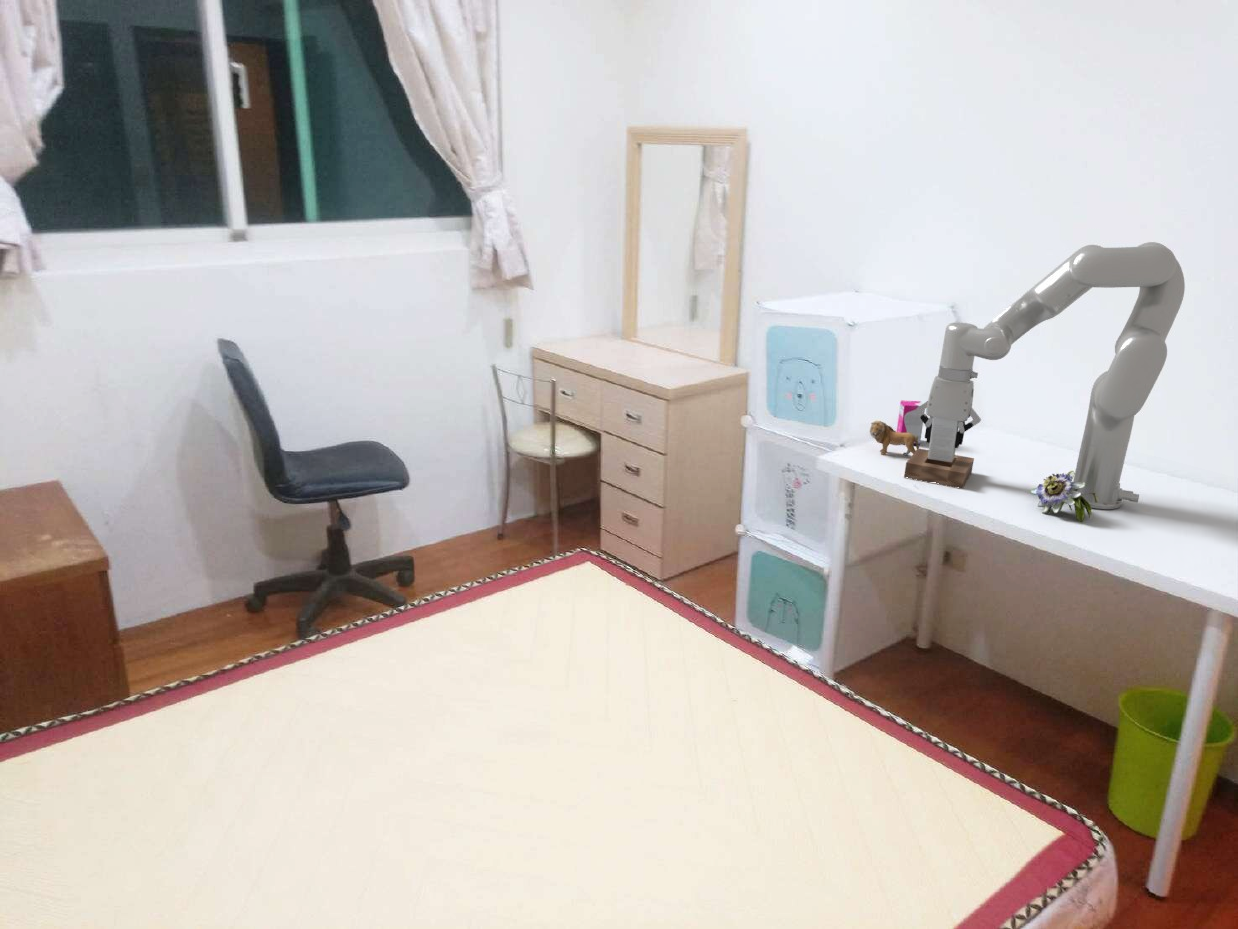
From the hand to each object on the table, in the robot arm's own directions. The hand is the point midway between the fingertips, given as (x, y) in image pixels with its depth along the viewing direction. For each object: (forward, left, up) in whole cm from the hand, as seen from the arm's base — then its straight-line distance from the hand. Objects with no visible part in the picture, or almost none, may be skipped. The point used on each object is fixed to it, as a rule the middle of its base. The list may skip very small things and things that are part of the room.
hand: (942, 443), depth 225 cm
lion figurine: (+13, -10, -9) cm, 19 cm away
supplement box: (+13, -25, -9) cm, 29 cm away
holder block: (0, 0, -8) cm, 8 cm away
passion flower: (-29, +10, -9) cm, 32 cm away
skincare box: (0, 0, -4) cm, 4 cm away
